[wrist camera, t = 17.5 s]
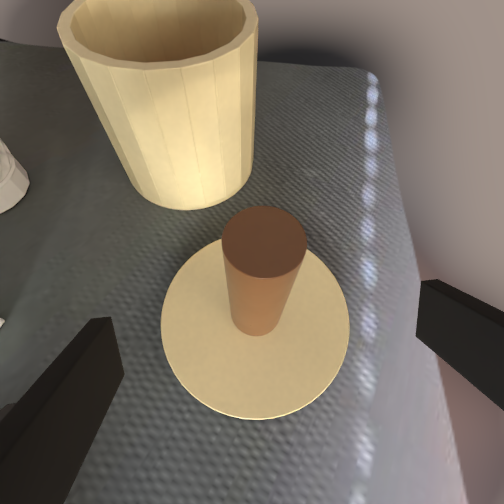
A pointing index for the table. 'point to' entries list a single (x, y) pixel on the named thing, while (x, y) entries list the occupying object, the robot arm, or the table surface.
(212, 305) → the canister lid
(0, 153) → the white cup
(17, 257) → the table surface
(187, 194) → the canister
